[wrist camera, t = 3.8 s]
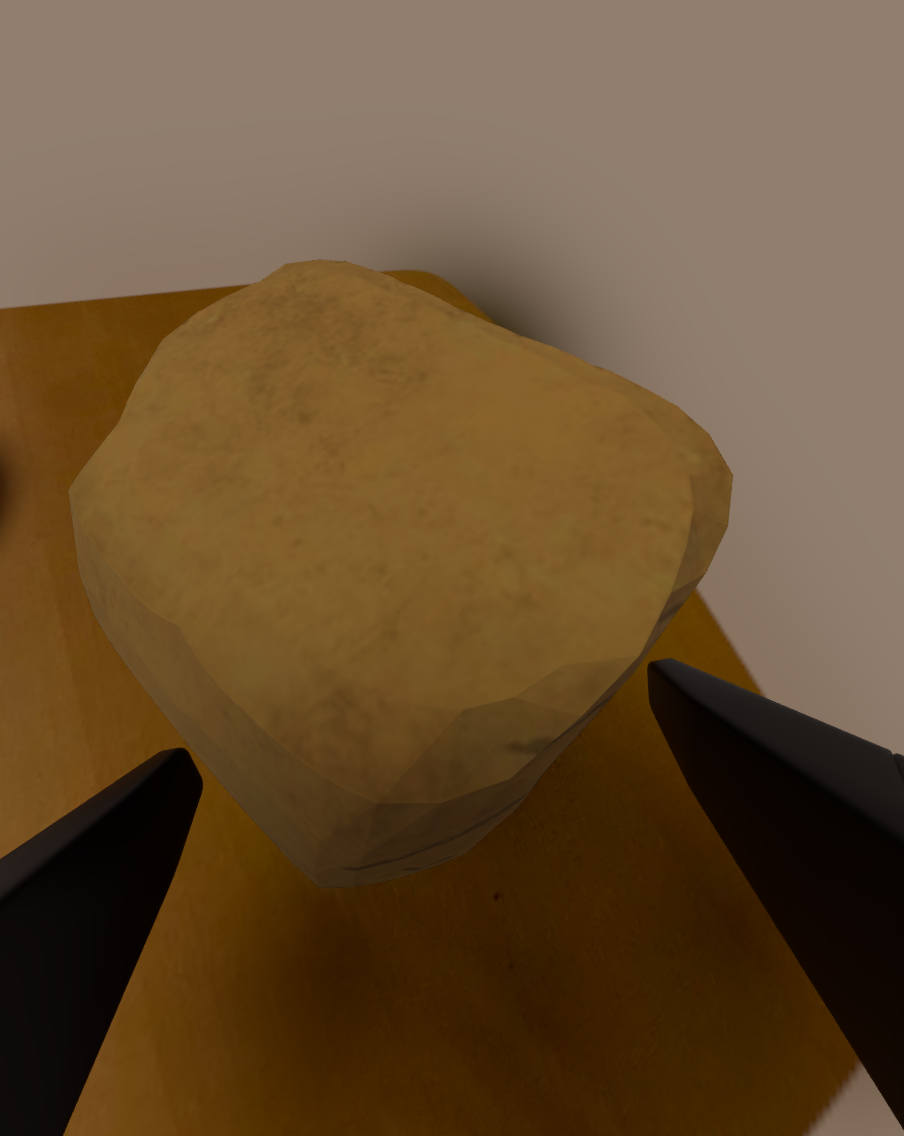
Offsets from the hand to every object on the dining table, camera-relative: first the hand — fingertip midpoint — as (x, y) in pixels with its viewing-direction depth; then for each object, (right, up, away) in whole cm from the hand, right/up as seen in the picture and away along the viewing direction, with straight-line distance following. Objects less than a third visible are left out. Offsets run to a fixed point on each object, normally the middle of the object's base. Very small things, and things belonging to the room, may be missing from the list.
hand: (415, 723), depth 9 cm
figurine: (+1, -3, +10) cm, 10 cm away
